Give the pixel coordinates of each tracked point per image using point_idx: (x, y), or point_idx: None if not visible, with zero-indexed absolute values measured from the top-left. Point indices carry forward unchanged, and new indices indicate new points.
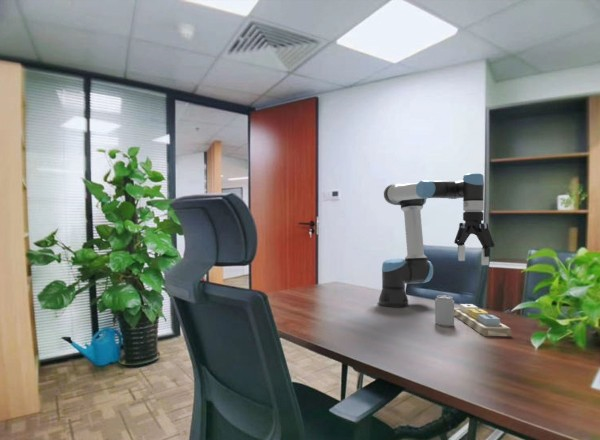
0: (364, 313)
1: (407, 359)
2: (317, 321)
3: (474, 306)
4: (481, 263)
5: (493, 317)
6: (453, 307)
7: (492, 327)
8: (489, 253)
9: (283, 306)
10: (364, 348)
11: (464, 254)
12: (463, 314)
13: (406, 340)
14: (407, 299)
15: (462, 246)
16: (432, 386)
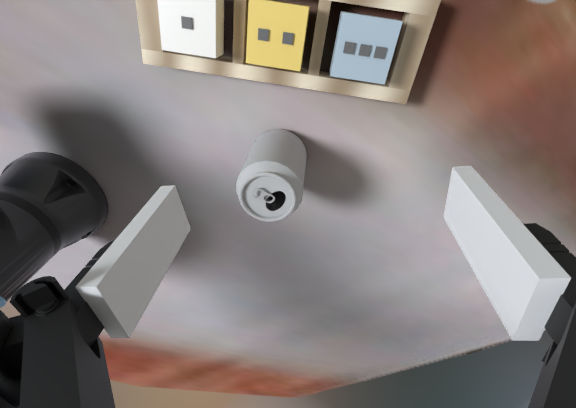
0: (183, 287)
1: (462, 312)
2: (246, 361)
3: (201, 2)
4: (448, 224)
5: (379, 37)
6: (297, 164)
7: (409, 69)
8: (566, 252)
9: (151, 380)
10: (394, 343)
11: (152, 221)
12: (243, 75)
13: (377, 281)
14: (57, 172)
15: (117, 303)
16: None
